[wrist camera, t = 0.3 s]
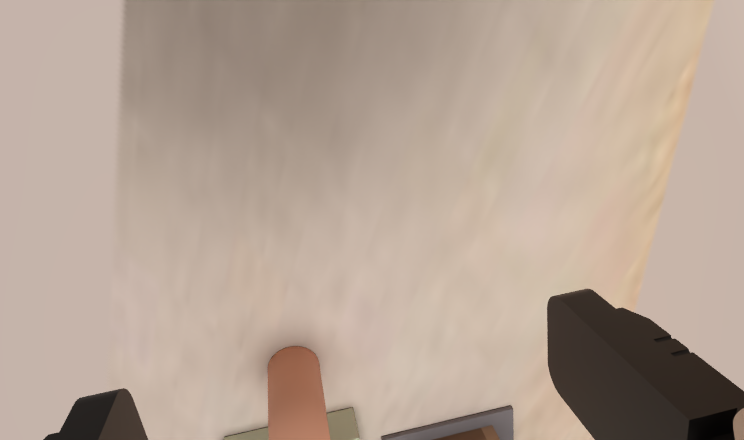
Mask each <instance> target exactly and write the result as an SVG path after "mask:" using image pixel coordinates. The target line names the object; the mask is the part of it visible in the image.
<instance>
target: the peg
mask: <svg viewBox="0 0 744 440" xmlns="http://www.w3.org/2000/svg"><path fill="white" fill-rule="evenodd" d="M268 433H269V440H330V434H329V427H328V420H327V413H326V407H325V400H324V393H323V387H322V380H321V373H320V366H319V361H318V358H317V356H316V355H315V354H314V353H313V352H312V351H311V350H309V349H307V348H304V347H298V346H293V347H287V348H284V349H282V350H280V351H278V352H277V353H276V354H275V355H274V356H273V357H272V358H271V360H270V362H269V364H268Z"/></svg>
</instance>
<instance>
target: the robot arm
mask: <svg viewBox="0 0 744 440" xmlns="http://www.w3.org/2000/svg"><path fill="white" fill-rule="evenodd" d="M547 322H548V366H549V372H550V375H551V378H552V381H553V384H554V386H555V388H556V390H557V391H558V393H559V394H560V396H561V397H562V398H563V400H564V401H565V402H566V403H567V405H568V406H569V407H570V409H571V410H572V411H573V412H574V414H575V415H576V416H577V417H578V419H579V420H580V421H581V423H582V424H583V425H584V426H585V428H586V429H587V430H588V431H589V433H590V434H591V435H592V436H593V438H594V439H595V440H744V391H743V390H741V389H740V388H739V387H737V386H736V385H735V384H734V383H732V382H731V381H730V380H728V379H727V378H726V377H724V376H723V375H722V374H720V373H719V372H718V371H717V370H715V369H714V368H712V367H711V366H710V365H708V364H707V363H706V362H705V361H704V360H702V359H701V358H700V357H698V356H697V355H696V354H694V353H690V352H689V350H688V348H687V347H685V346H684V345H683V344H681V343H680V342H679V341H677V340H676V339H672V338H671V335H670V334H668V333H667V332H666V331H664V330H663V329H662V328H661V327H659V326H658V325H657V324H655V323H654V322H653V321H651V320H650V319H648V318H646V317H643V316H641V315H639V314H636V313H634V312H631V311H629V310H627V309H624V308H618V309H615V308H614V307H613V306H612V305H610V304H609V303H608V302H607V301H605V300H604V299H603V298H602V297H601V296H599V295H598V294H597V293H596V292H594V291H593V290H591V289H584V290H579V291H575V292H570V293H565V294H561V295H556V296H552V297H551V298H550V299H549V301H548V306H547ZM44 440H148V438H147V436H146V433H145V430H144V428H143V425H142V422H141V420H140V417H139V414H138V411H137V409H136V406H135V403H134V401H133V398H132V396H131V394H130V392H129V391H128V390H127V389H124V388H123V389H118V390H114V391H109V392H105V393H100V394H96V395H91V396H86V397H82V398H79V399H78V400H77V401H76V402H75V404H74V406H73V407H72V409H71V411H70V413H69V415H68V417H67V419H66V421H65V423H64V425H63V426H62V428H61V430H60V432H59V433H54V434H50V435H48V436H47V437H46V438H45V439H44Z"/></svg>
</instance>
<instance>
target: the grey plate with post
mask: <svg viewBox="0 0 744 440" xmlns="http://www.w3.org/2000/svg"><path fill="white" fill-rule="evenodd" d="M490 425H492V426H493V428H494V429H495V431H496V433H497V435H498V437H499V439H500V440H513V408H512V406H507V407H503V408H499V409H495V410H491V411H487V412H483V413H478V414H474V415H470V416H466V417H462V418H458V419H454V420H449V421H445V422H441V423H437V424H433V425H429V426H424V427H420V428H416V429H412V430H408V431H404V432H400V433H395V434H391V435H387V436H383V437H382V440H433V439H437V438H441V437H445V436H449V435H453V434H458V433H462V432H466V431H470V430H474V429H478V428H482V427H486V426H490Z"/></svg>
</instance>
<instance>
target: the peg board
mask: <svg viewBox="0 0 744 440" xmlns="http://www.w3.org/2000/svg"><path fill="white" fill-rule="evenodd" d="M327 420H328V427H329V434H330V440H360V439H359V434H358V430H357V425H356V420H355V416H354V411H353V408H348V409H344V410H340V411H335V412H331V413H327ZM224 440H269V433H268V427H266V428H262V429H258V430H254V431H249V432H245V433H241V434H236V435H232V436H228V437H224Z"/></svg>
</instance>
